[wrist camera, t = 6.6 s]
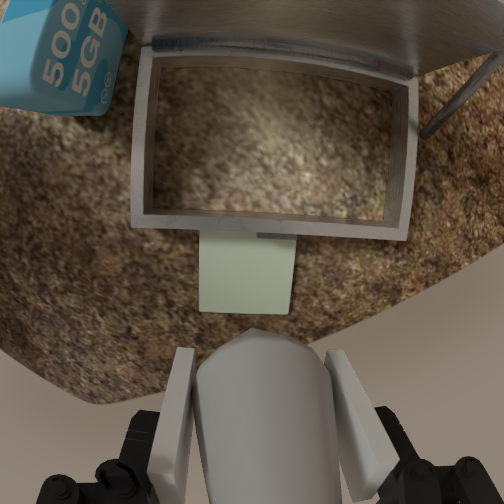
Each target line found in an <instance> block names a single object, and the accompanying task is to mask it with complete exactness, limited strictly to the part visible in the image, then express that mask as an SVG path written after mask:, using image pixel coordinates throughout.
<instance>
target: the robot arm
mask: <svg viewBox="0 0 504 504" xmlns="http://www.w3.org/2000/svg"><path fill="white" fill-rule="evenodd" d="M324 366H325V367H326V368H327V370H328V371H329V373H330V374H331V382H332V391H333V401H334V411H335V421H336V433H337V445H338V459H339V461H340V465H341V468H342V471H343V474H344V477H345V480H346V483H347V486H348V489H349V492H350V496H351V499H352V502H353V503H354V502H359V501H364V500H368V499H371V498H372V497H373V496H374V495H375V494H376V492H378V494H379V497H380V500H379V501H378V502H377V503H376V504H504V502H503V500H502V498H501V496H500V494H499V493H498V491H497V489H496V487H495V485H494V484H493V482H492V480H491V478H490V477H489V475H488V473H487V471H486V470H485V468H484V466H483V465H482V463H481V462H480V461H479V460H478V459H476V458H474V457H470V456H467V457H463V458H461V459H459V460H458V461H457V463H456V464H455V465H454V466H434V465H433V464H432V463H431V462H429V461H427V460H425V459H420V458H419V456H418V455H417V453H416V451H415V449H414V447H413V446H412V444H411V442H410V440H409V438H408V437H407V435H406V433H405V431H403V428H402V426H401V424H399V420H398V419H397V417H396V415H395V413H393V412H392V411H391V410H390V409H389V408H387V407H386V406H381V407H375V408H374V407H373V405H372V403H371V401H370V400H369V398H368V396H367V394H366V392H365V390H364V388H363V386H362V384H361V383H360V381H359V379H358V377H357V375H356V373H355V371H354V369H353V367H352V366H351V364H350V362H349V360H348V359H347V356H346V354H345V353H344V351H343V349H334V350H327V353H326V357H325V362H324ZM195 378H196V369H195V348H182V347H177V350H176V354H175V358H174V361H173V365H172V369H171V373H170V377H169V380H168V384H167V388H166V392H165V396H164V400H163V404H162V408H161V412H153V411H145V410H139V411H138V412H137V413H136V414H135V415H134V416H133V418H132V419H131V421H130V425H129V428H128V431H127V434H126V437H125V440H124V443H123V446H122V449H121V453H120V456H119V459H112V460H107V461H105V462H103V463H102V464H100V466H99V467H98V468H97V469H96V474H95V477H96V479H97V480H98V482H96V483H76V482H75V481H74V480H73V479H72V478H70V477H68V476H66V475H60V474H57V475H53V476H50V477H49V478H47V479H46V480H45V482H44V483H43V485H42V487H41V490H40V493H39V496H38V499H37V502H36V504H184V502H185V492H186V481H187V472H188V462H189V454H190V445H191V436H192V428H193V420H194V413H193V406H192V390H193V386H194V382H195ZM459 502H460V503H459Z"/></svg>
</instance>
